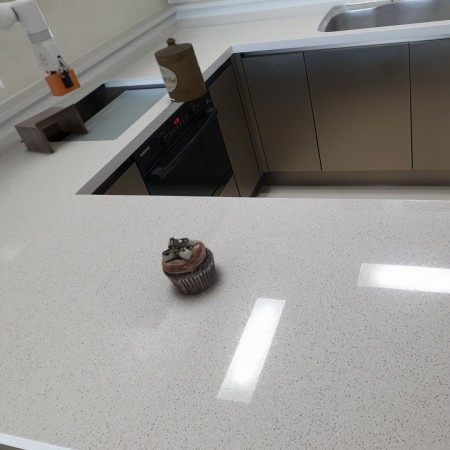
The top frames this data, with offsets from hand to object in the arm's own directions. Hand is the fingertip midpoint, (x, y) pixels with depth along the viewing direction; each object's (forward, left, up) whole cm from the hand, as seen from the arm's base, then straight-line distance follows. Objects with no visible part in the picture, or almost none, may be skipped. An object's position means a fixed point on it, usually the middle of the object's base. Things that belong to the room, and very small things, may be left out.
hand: (65, 86), depth 171 cm
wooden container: (+32, +28, -15) cm, 45 cm away
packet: (0, 0, -2) cm, 2 cm away
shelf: (+5, -15, -14) cm, 21 cm away
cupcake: (+107, -58, -15) cm, 123 cm away
